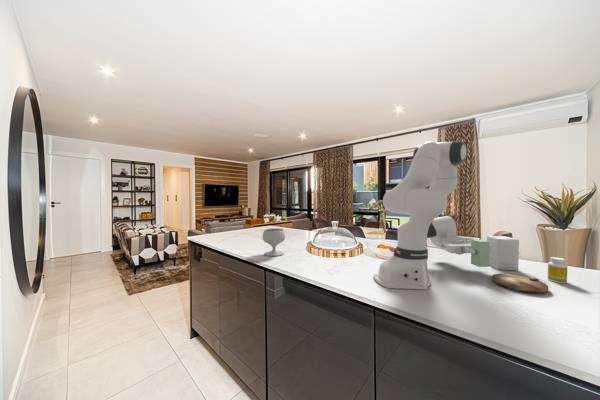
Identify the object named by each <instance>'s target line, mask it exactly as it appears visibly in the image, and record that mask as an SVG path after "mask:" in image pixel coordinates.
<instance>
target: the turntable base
mask: <svg viewBox="0 0 600 400" xmlns="http://www.w3.org/2000/svg"><path fill="white" fill-rule="evenodd" d="M498 285H500V286H502V287H503V288H507V289H510V290H513V291H515V292H516V291H517V292H522V293H527V294H528V293H529V294H540V293H541V292H530V291H523V290H518V289H514V288H510V287H507V286H504V285H501V284H498Z"/></svg>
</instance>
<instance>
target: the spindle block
mask: <svg viewBox="0 0 600 400" xmlns="http://www.w3.org/2000/svg"><path fill="white" fill-rule="evenodd" d="M471 249H475V250H477V254H471V253H470V264H471V265H473V266H476V267H478V268H487V267H488V268H489V267H490V266H489V256H490V241H487V240H484V239H479V238H478V239H476V240H471Z"/></svg>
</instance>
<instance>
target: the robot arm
mask: <svg viewBox="0 0 600 400" xmlns="http://www.w3.org/2000/svg"><path fill="white" fill-rule="evenodd" d="M412 155H413V156H412V160H411V164H410V166H409V168H408V171H407V173H406V174H405V177H404V178H403V179H402V180H401V181H400V182H399V183H398V184H397V185H396V186H395V187H393V188H391V189H390V190H388V191H386V192H385V193H384V195H383V198H382V205H383V208H384V209H385V210H386V211H387V212H390V213H394V214H396V215H409V219H408V221H407V222H406V223H403V224H401V225H400V226H399V227H398V228H397V245H396V247H394V246H389V248H388V250H389V252H391V253H393V254H391V256H390V257H388V258H387V259H385V260H384V261H383V262H381V263H380V266H379V269H378V272H377V273H373V279H374V281H375V282H376V283H378V284H379V285H380V286H383V287H384V288H388V289H397V290H398V289H399V290H400V289H401V290H407V289H408V290H423V291H425V290H426V291H427V290H428V287H429V286H430V285H431V284H432V282H431V280H430V275H429V269H428V260H429V259H428V258H429V251H428V250H429V249H428V245H427V244H428V243H427V242H428V239H430V242H431V243H432V244H433V246H435V247H436V248H438V249H441V250H442V251H443V250H444V251H445V252H448V253H451V254H455V255H463V254H470V255H471V254H477V250H475V249H471V240H477V238H476V239H475V238H471V237H469V238H468V237H464V236H458V231H459V228H458V227H459V226H458V225H459V224H458V223H457V221H456V220H455V219H454V217H452V216H449V215H445V216H440V215H441V214H443V213H444V212H445V211H446V209H447V207H448V199H447V196H448V195H450V194H452V193H453V192H455V190H456V188H457V186H458V165H460V164H461V163H463V161H465V159H466V156H467V147H466V145H465V143H464V142H463V141H459V140H458V141H457V140H452V141H440V142H439V141H437V142H435V141H426V142H424V143H422V144H420V145H418V146H416V147H415V148H414V150H413V154H412ZM491 252H492V246H491V245H490V253H491Z"/></svg>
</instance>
